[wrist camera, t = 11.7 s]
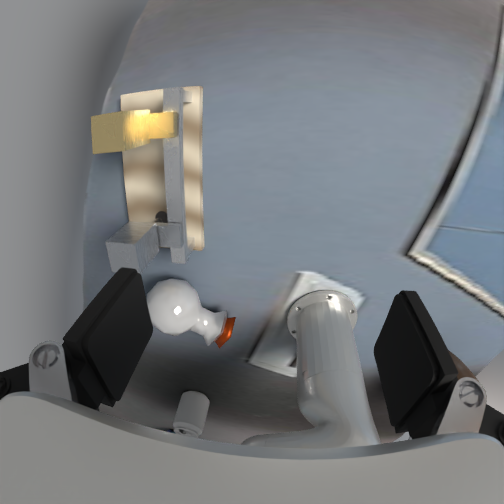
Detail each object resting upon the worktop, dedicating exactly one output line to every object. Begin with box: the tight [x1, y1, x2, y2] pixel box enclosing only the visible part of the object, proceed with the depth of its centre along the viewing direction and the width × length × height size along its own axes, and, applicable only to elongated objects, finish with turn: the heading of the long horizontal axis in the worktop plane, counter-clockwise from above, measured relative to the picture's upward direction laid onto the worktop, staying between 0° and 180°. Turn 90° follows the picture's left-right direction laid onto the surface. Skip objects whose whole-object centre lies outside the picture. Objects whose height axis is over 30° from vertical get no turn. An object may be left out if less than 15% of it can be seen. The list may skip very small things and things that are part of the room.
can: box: [173, 391, 210, 438], centre depth 60 cm, size 8×8×12 cm
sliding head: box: [91, 110, 177, 154], centre depth 27 cm, size 4×7×12 cm, turn 88°
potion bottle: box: [146, 278, 236, 348], centre depth 45 cm, size 9×10×15 cm
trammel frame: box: [106, 87, 195, 274], centre depth 31 cm, size 23×7×12 cm, turn 178°
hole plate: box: [121, 86, 204, 251], centre depth 37 cm, size 24×12×2 cm, turn 178°
